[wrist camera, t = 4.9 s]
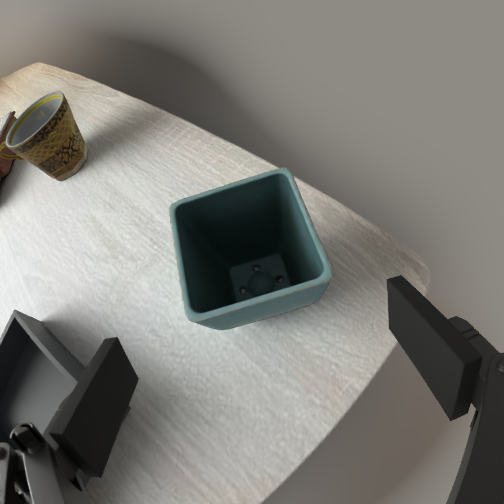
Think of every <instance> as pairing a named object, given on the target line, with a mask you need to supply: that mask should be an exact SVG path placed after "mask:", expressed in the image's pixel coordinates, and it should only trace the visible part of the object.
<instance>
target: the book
mask: <svg viewBox="0 0 504 504" xmlns="http://www.w3.org/2000/svg"><path fill="white" fill-rule="evenodd" d="M14 114H15V111H13V112H10V113H8V114H7V115H6V116H5V117H4V118H2V119H1V120H0V145H1V144H2V143H3V142H4V141H6V138H7V135H8V133H9V131H10V129H11V127H12V126H13V124H14V123H15V122H16V120H17V119H16V118H15V116H14ZM2 152H3V154H5V155H8V156H14V155H15V153H14V152H13V151H12V150H10V149H9V148H8V147H5V148H3V149H2ZM12 161H13V159H5V158H3V157H1V155H0V180H1V178H3V177H4V176H5V175H7V174H8V173H9V170H10V167H11V164H12Z"/></svg>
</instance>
